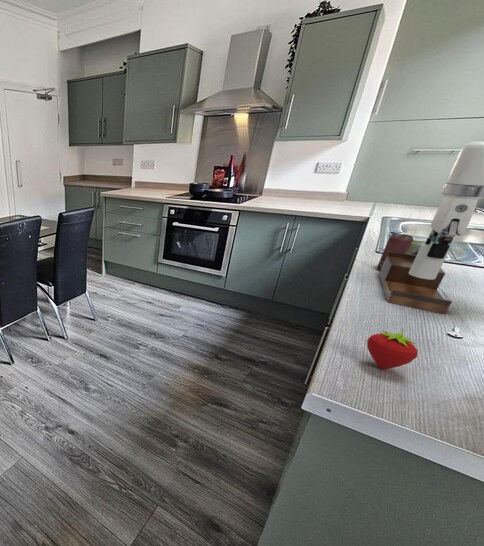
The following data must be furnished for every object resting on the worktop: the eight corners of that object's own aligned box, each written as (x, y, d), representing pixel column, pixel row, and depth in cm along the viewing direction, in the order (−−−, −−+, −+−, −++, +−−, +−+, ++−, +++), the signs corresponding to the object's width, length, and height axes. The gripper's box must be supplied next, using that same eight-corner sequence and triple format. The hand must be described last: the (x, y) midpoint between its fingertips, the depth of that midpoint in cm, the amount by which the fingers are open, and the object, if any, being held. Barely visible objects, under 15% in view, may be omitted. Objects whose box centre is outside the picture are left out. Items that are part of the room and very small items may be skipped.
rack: (425, 284, 106) (437, 258, 103) (445, 314, 87) (461, 284, 84) (378, 275, 113) (388, 250, 109) (387, 302, 94) (400, 273, 90)
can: (384, 267, 121) (399, 232, 115) (402, 273, 115) (419, 237, 109) (371, 268, 120) (385, 233, 114) (389, 274, 114) (405, 238, 108)
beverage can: (429, 273, 115) (444, 242, 111) (404, 270, 118) (417, 240, 113) (419, 267, 121) (433, 237, 116) (395, 264, 123) (408, 235, 119)
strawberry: (359, 354, 71) (376, 316, 67) (405, 369, 66) (426, 329, 62) (357, 366, 67) (374, 327, 63) (406, 384, 62) (428, 342, 58)
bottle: (432, 275, 93) (452, 236, 89) (437, 281, 89) (457, 241, 85) (406, 270, 96) (424, 233, 92) (410, 276, 92) (428, 237, 88)
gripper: (497, 196, 75) (460, 266, 82) (473, 189, 87) (443, 250, 94) (451, 193, 79) (419, 259, 86) (435, 186, 92) (408, 245, 99)
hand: (432, 254), depth 90 cm, fingers closed on bottle, 5 cm apart
